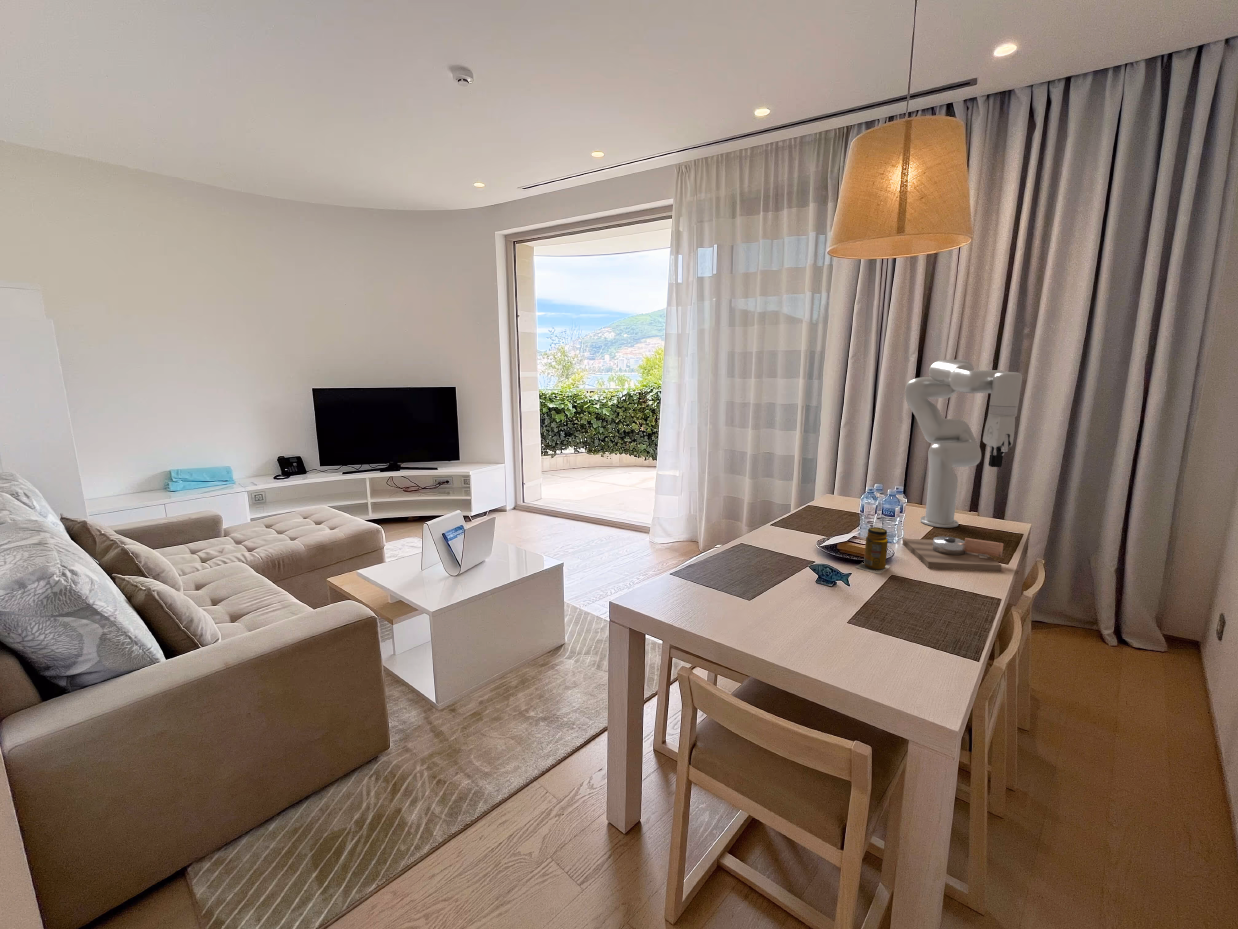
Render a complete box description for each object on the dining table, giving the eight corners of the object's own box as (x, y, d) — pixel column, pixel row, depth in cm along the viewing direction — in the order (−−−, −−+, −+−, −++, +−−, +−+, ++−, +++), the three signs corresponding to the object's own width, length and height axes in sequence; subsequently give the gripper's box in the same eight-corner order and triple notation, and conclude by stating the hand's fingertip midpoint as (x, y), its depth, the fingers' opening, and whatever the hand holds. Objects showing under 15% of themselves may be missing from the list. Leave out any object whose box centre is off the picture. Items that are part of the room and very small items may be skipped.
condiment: (890, 566, 163) (893, 529, 161) (879, 574, 158) (882, 535, 155) (866, 560, 168) (869, 524, 166) (855, 568, 163) (857, 530, 160)
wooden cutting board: (902, 544, 183) (903, 538, 182) (966, 546, 179) (967, 540, 179) (928, 568, 161) (928, 561, 161) (1001, 571, 158) (1002, 564, 158)
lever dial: (931, 551, 169) (932, 538, 168) (933, 543, 176) (934, 530, 175) (1002, 562, 159) (1004, 548, 158) (1001, 553, 166) (1002, 539, 165)
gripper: (979, 408, 179) (972, 461, 183) (1001, 413, 164) (993, 471, 168) (1004, 408, 177) (996, 462, 181) (1028, 414, 163) (1019, 472, 167)
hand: (994, 466), depth 175 cm, fingers closed
